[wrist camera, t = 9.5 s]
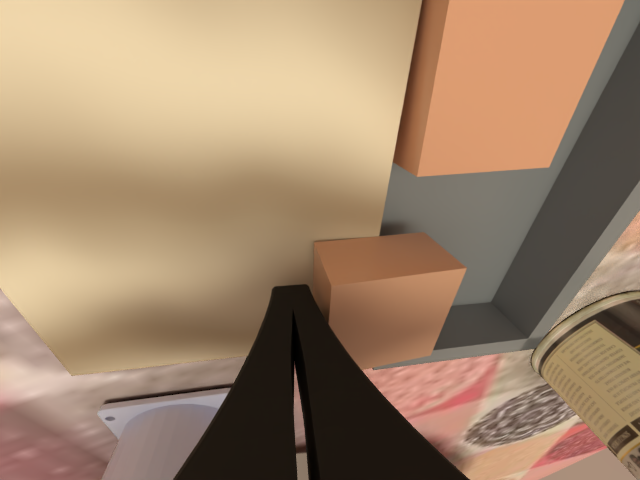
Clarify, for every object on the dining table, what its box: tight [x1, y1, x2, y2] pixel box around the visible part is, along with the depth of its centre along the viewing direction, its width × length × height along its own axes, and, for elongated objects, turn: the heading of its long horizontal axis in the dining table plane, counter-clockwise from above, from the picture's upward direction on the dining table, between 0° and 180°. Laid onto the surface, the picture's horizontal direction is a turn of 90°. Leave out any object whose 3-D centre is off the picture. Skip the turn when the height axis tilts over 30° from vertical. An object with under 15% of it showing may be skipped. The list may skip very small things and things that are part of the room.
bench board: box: [0, 0, 422, 376], centre depth 9 cm, size 15×13×2 cm
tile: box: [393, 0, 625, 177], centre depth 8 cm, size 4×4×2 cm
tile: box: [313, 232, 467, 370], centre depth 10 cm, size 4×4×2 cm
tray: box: [373, 0, 640, 370], centre depth 10 cm, size 16×9×3 cm, turn 178°
